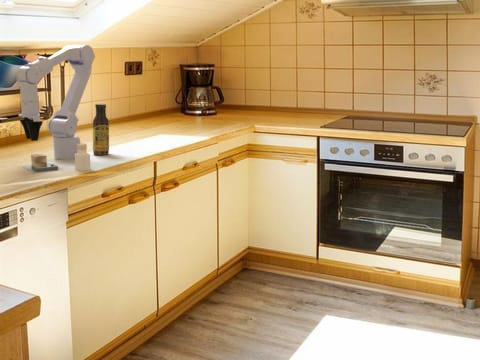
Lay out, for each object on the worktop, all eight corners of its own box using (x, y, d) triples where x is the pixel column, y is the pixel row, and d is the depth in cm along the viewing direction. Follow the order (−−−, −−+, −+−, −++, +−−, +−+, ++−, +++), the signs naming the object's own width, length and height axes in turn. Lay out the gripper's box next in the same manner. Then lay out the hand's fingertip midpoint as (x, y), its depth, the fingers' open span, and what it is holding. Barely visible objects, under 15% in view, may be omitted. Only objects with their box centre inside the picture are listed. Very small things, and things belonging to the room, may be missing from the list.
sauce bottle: (94, 156, 243) (92, 105, 239) (91, 153, 248) (89, 103, 244) (111, 155, 245) (109, 104, 241) (108, 152, 251) (106, 102, 247)
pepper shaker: (81, 173, 212) (80, 145, 210) (74, 171, 214) (73, 144, 212) (91, 171, 215) (90, 144, 213) (84, 169, 217) (83, 142, 215)
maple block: (43, 164, 222) (42, 153, 221) (47, 166, 218) (46, 155, 217) (31, 165, 219) (30, 154, 219) (35, 168, 216) (34, 156, 215)
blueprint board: (49, 165, 225) (49, 159, 225) (63, 172, 213) (63, 166, 213) (21, 168, 220) (21, 162, 219) (34, 175, 208) (33, 169, 207)
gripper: (12, 100, 223) (15, 137, 226) (23, 103, 211) (26, 143, 214) (32, 99, 227) (34, 136, 230) (44, 102, 215) (47, 141, 218)
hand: (32, 139), depth 222 cm, fingers open, 5 cm apart
